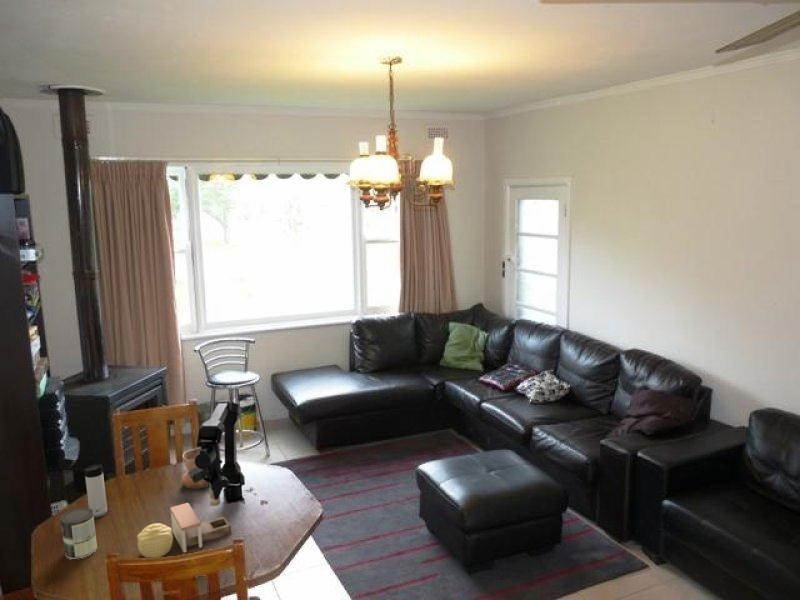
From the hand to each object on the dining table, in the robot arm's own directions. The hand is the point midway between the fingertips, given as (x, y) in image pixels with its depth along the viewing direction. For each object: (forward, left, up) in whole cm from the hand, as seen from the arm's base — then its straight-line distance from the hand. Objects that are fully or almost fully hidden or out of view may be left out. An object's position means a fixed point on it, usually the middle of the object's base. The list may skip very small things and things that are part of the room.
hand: (214, 497), depth 236 cm
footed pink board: (+11, +1, -13) cm, 17 cm away
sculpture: (+23, +4, -13) cm, 26 cm away
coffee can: (+45, -12, -13) cm, 48 cm away
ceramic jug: (-4, -40, -13) cm, 42 cm away
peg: (0, 0, -3) cm, 2 cm away
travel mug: (+36, -37, -13) cm, 53 cm away
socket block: (+5, +2, -12) cm, 14 cm away
